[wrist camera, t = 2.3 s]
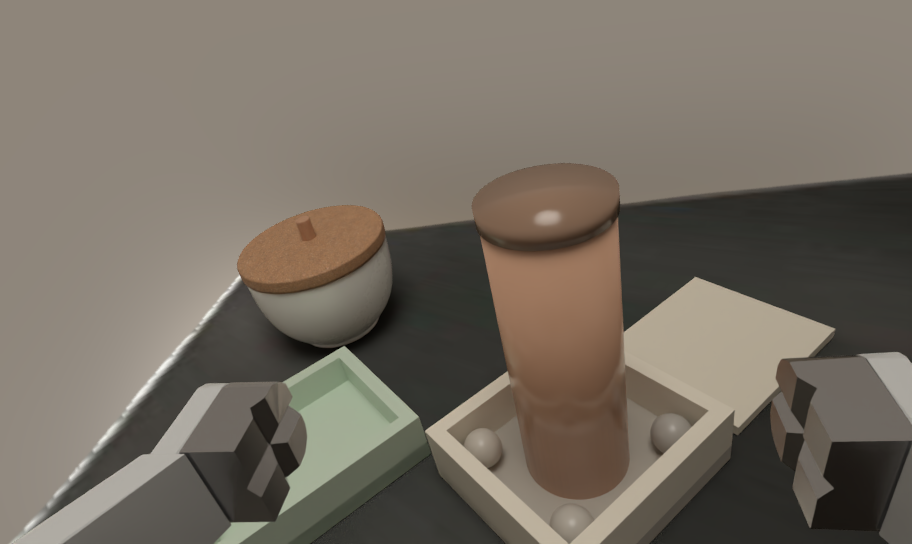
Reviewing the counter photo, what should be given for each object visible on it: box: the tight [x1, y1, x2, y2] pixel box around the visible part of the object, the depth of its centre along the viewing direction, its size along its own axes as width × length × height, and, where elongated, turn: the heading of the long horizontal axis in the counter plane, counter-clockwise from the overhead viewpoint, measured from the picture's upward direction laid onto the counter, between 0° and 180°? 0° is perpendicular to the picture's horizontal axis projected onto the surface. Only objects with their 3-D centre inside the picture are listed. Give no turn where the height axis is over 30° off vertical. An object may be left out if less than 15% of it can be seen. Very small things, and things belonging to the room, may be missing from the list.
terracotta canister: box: [472, 163, 630, 500], centre depth 25 cm, size 5×5×15 cm
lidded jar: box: [237, 205, 393, 348], centre depth 42 cm, size 11×11×9 cm
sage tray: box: [214, 346, 431, 544], centre depth 32 cm, size 12×9×3 cm
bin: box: [425, 277, 835, 544], centre depth 31 cm, size 22×10×4 cm, turn 127°
